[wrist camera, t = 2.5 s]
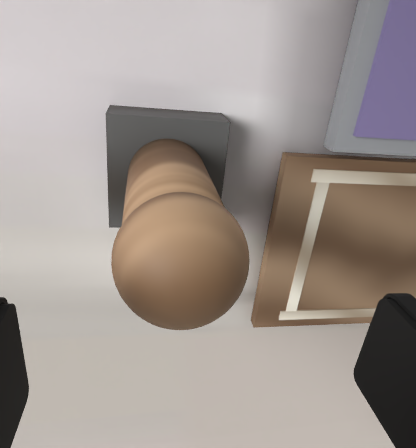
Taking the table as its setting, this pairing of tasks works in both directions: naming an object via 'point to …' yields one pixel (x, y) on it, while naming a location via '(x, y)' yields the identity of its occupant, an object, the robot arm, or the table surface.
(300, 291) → the marked board
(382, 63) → the ink pad
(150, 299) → the stamp
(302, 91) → the table surface
